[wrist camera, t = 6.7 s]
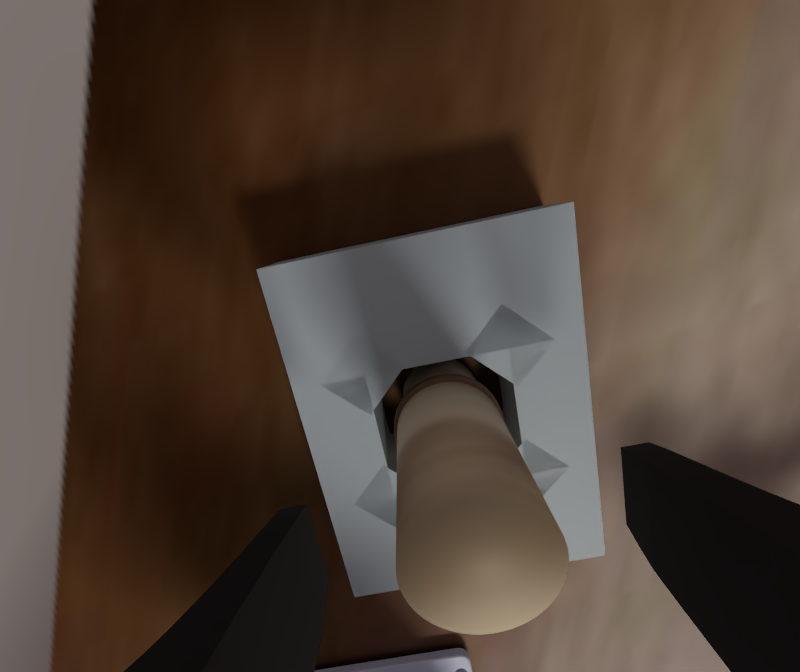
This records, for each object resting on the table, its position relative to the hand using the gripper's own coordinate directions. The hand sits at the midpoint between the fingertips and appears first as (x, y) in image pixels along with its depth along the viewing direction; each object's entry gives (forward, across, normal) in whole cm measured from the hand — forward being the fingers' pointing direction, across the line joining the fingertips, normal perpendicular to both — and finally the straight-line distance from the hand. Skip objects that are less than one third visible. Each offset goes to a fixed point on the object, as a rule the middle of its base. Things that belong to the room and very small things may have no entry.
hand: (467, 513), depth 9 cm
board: (+6, 0, 0) cm, 6 cm away
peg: (+6, 0, 0) cm, 6 cm away
